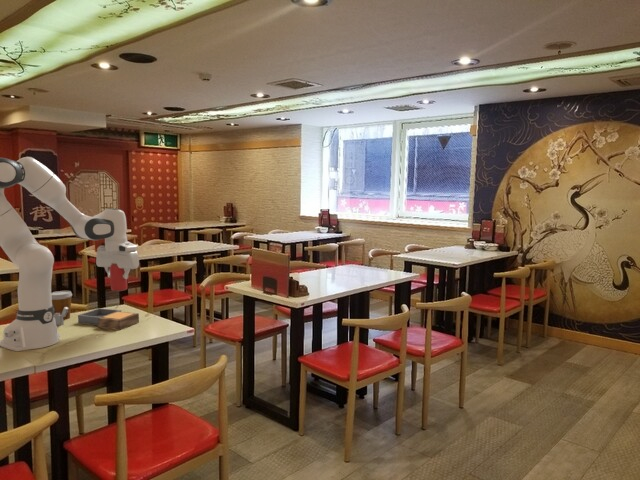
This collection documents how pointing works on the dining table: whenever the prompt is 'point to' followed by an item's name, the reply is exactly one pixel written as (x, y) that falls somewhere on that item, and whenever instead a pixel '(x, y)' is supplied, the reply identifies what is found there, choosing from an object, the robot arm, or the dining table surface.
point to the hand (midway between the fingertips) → (118, 278)
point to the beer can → (117, 278)
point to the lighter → (60, 317)
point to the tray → (94, 315)
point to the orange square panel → (118, 315)
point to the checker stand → (118, 322)
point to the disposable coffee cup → (61, 302)
